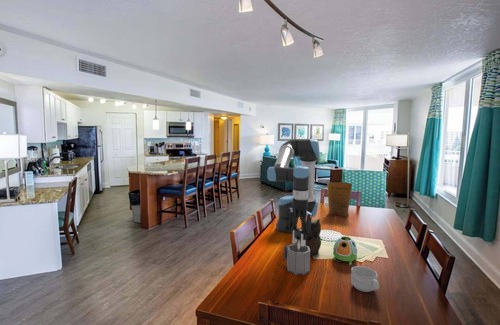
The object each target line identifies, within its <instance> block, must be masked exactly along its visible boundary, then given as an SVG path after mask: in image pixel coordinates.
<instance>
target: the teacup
mask: <svg viewBox="0 0 500 325" xmlns="http://www.w3.org/2000/svg"><path fill="white" fill-rule="evenodd" d="M350 269H351V272H350V282H351V285H353V287H354V288H355V289H356V290H357V291H360V292H362V293H369V292H373V291H377V290H379V287H380V282H379V281H378V275H379V274H378V273H377V271H376V270H374V269H372V268H369V267H367V266H362V265H361V266H360V265H359V266H358V265H357V266H352V267H351V268H350Z"/></svg>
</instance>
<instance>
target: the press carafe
mask: <svg viewBox="0 0 500 325" xmlns="http://www.w3.org/2000/svg"><path fill="white" fill-rule="evenodd" d="M297 250H298V243H291V244H289V245H284V246H283V260H285V261H286V270H287V272H289V273H290V274H293V275H294V276H295V275H297V276H305V275H308V274H309V273H310V272H311V269H310V268H311V257H310V248H309V247H308V246H306V245H305V246H301V244H300V252H297Z"/></svg>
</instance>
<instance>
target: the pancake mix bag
mask: <svg viewBox="0 0 500 325" xmlns="http://www.w3.org/2000/svg"><path fill="white" fill-rule="evenodd" d="M326 185H327V201H328V203H327V205H328V214H329V215H332V216H333V215H334V216H340V217H349V216H350V215H349V208H350V200H351V195H352V190H353V189H352V187H353V183H350V182H335V181H334V182H333V181H330V182H327V184H326Z"/></svg>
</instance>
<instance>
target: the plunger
mask: <svg viewBox="0 0 500 325" xmlns="http://www.w3.org/2000/svg"><path fill="white" fill-rule="evenodd" d="M301 233H303V231H302V229H301V227H300V228H299V227H297V228H296V229H295V238H296V239H297V244H298V250H297V252H300V239H301Z"/></svg>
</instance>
